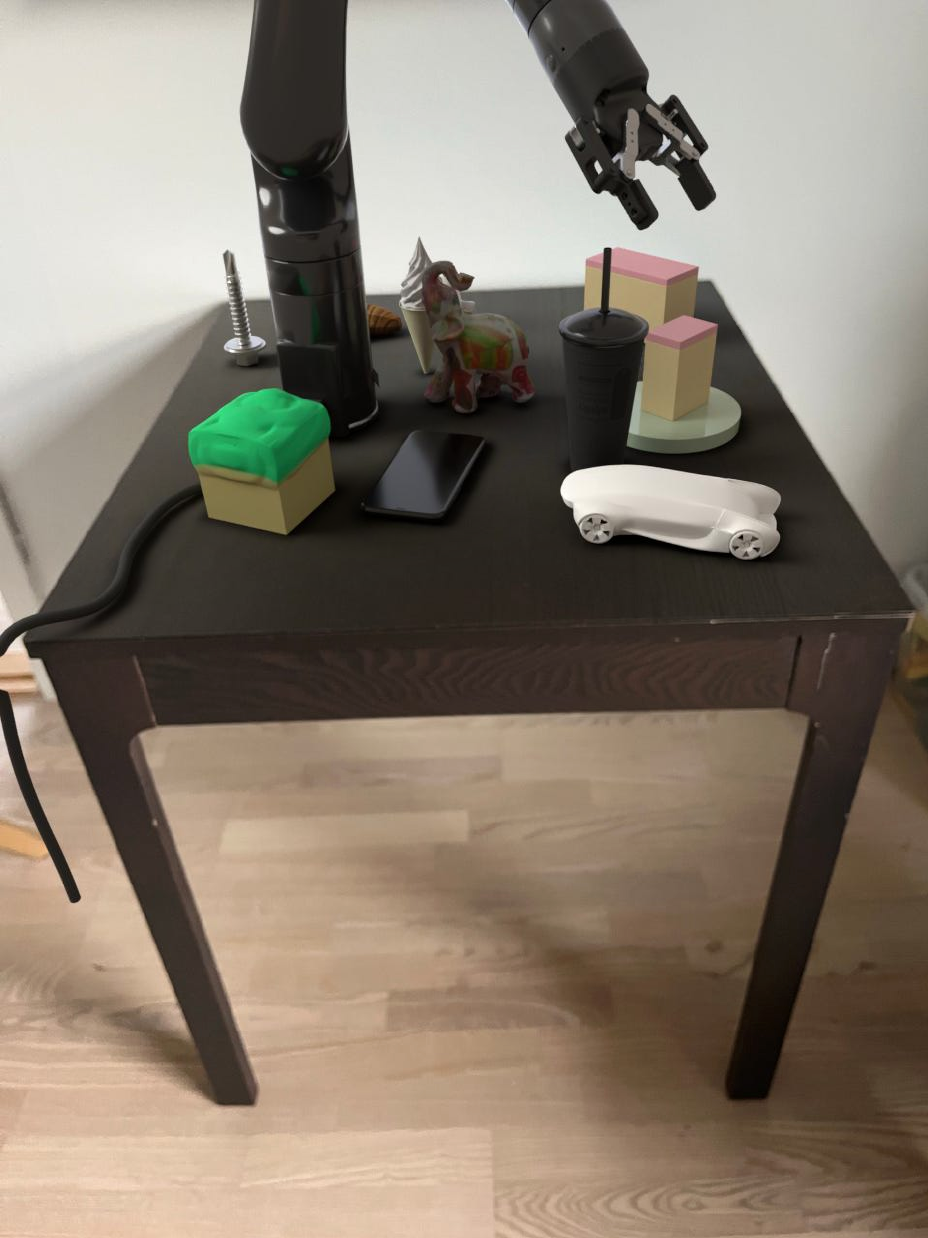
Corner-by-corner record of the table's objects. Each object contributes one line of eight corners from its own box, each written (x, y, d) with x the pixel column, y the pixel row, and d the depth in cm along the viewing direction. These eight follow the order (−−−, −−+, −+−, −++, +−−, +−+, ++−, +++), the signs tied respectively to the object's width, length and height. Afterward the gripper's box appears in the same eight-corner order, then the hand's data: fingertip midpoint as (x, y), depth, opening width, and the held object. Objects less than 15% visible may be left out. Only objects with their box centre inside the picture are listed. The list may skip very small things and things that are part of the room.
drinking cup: (645, 454, 93) (662, 237, 81) (629, 492, 87) (645, 265, 75) (567, 444, 95) (573, 232, 83) (546, 481, 89) (549, 259, 77)
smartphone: (412, 436, 97) (356, 516, 85) (411, 428, 97) (355, 507, 85) (488, 443, 96) (443, 525, 83) (488, 434, 95) (442, 516, 83)
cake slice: (708, 401, 98) (718, 324, 93) (673, 421, 95) (680, 341, 90) (676, 391, 100) (683, 314, 95) (640, 409, 97) (646, 331, 92)
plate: (734, 460, 91) (736, 445, 90) (586, 445, 94) (587, 431, 94) (743, 398, 102) (745, 385, 101) (610, 387, 105) (611, 374, 104)
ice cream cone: (448, 381, 108) (441, 242, 99) (402, 382, 108) (391, 244, 99) (449, 363, 112) (443, 228, 103) (405, 364, 112) (395, 230, 103)
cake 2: (692, 333, 117) (699, 266, 112) (661, 348, 113) (667, 279, 109) (614, 311, 124) (617, 246, 119) (583, 324, 121) (585, 258, 116)
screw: (275, 362, 115) (239, 373, 112) (255, 350, 118) (219, 361, 115) (257, 249, 107) (217, 258, 104) (236, 240, 110) (197, 249, 107)
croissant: (289, 344, 119) (283, 304, 116) (302, 324, 124) (296, 285, 121) (398, 344, 118) (395, 303, 115) (406, 324, 123) (403, 284, 120)
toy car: (777, 514, 83) (785, 466, 80) (776, 564, 77) (785, 514, 74) (569, 493, 87) (570, 448, 84) (552, 539, 81) (553, 492, 78)
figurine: (435, 385, 107) (427, 245, 98) (540, 394, 104) (542, 251, 95) (413, 414, 102) (402, 269, 93) (523, 425, 99) (523, 276, 90)
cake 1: (351, 483, 90) (338, 381, 84) (289, 540, 83) (270, 433, 77) (263, 466, 94) (245, 367, 88) (196, 519, 86) (171, 415, 80)
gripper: (557, 33, 80) (657, 203, 80) (663, 16, 87) (754, 172, 87) (510, 99, 86) (603, 257, 86) (613, 78, 94) (698, 223, 94)
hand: (679, 214), depth 87 cm, fingers open, 8 cm apart
